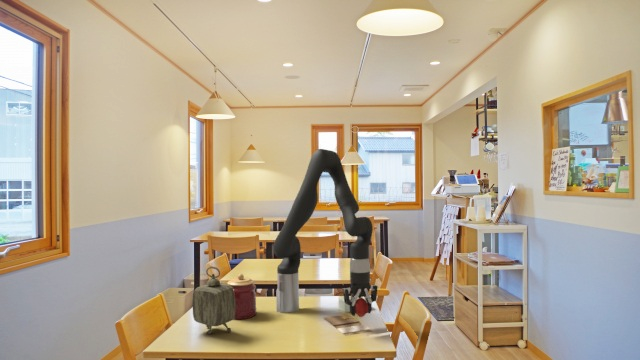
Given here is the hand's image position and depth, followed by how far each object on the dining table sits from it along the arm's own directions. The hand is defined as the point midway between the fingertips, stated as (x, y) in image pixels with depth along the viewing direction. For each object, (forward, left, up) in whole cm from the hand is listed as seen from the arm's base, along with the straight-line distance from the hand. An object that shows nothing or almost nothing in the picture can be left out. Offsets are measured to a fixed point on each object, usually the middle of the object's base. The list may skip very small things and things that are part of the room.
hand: (360, 313), depth 165 cm
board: (-3, +7, -6) cm, 10 cm away
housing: (+8, +24, -6) cm, 26 cm away
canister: (-38, +39, -7) cm, 55 cm away
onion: (0, 0, -1) cm, 1 cm away
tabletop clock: (-52, +22, -7) cm, 57 cm away
